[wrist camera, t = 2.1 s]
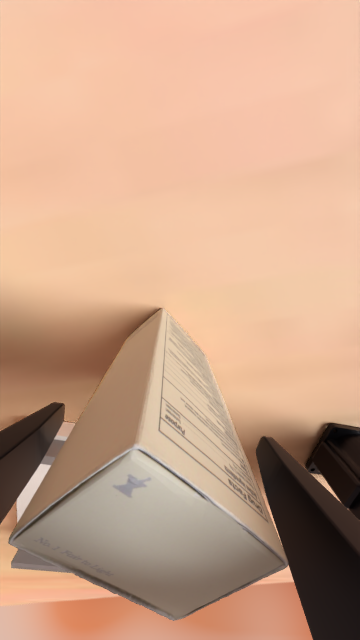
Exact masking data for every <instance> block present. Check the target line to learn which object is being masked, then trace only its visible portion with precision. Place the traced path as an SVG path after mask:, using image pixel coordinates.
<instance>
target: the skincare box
mask: <svg viewBox="0 0 360 640" xmlns="http://www.w3.org/2000/svg"><path fill="white" fill-rule="evenodd" d="M9 544H10V545H12V546H14V547H16V548H18V549H22V550H25V551H26V552H28V553H30V554H32V555H34V556H36V557H38V558H41V559H42V560H44V561H46V562H49V563H51V564H53V565H55V566H57V567H59V568H61V569H63V570H66V571H68V572H71V573H74V574H75V575H77V576H79V577H80V578H83V579H85V580H88V581H89V582H91V583H93V584H95V585H98V586H101V587H103V588H105V589H107V590H109V591H110V592H112V593H114V594H118V595H120V596H122V597H124V598H126V599H128V600H130V601H132V602H134V603H136V604H139V605H142V606H144V607H146V608H148V609H150V610H152V611H154V612H156V613H158V614H160V615H162V616H165V617H167V618H168V619H170V620H173V621H174V620H178V619H182V618H185V617H187V616H189V615H191V614H193V613H194V612H196V611H198V610H200V609H202V608H204V607H206V606H207V605H209V604H212V603H214V602H216V601H219V600H220V599H222V598H224V597H227V596H229V595H231V594H232V593H234V592H237V591H239V590H241V589H243V588H245V587H248V586H249V585H251V584H253V583H255V582H257V581H259V580H261V579H263V578H265V577H268V576H270V575H272V574H274V573H276V572H278V571H281V570H283V569H285V568H286V567H287V566H288V560H287V557H286V555H285V552H284V549H283V547H282V545H281V542H280V540H279V537H278V535H277V532H276V529H275V527H274V524H273V522H272V519H271V517H270V514H269V512H268V510H267V507H266V505H265V502H264V499H263V497H262V494H261V492H260V489H259V487H258V484H257V482H256V479H255V477H254V474H253V472H252V469H251V467H250V465H249V462H248V460H247V457H246V455H245V452H244V450H243V447H242V445H241V442H240V439H239V437H238V435H237V432H236V430H235V427H234V424H233V422H232V419H231V417H230V414H229V412H228V409H227V407H226V404H225V402H224V399H223V397H222V394H221V392H220V389H219V387H218V384H217V382H216V379H215V377H214V374H213V372H212V369H211V367H210V364H209V362H208V359H207V357H206V355H205V354H204V352H203V351H202V350H201V349H200V348H199V347H198V345H197V344H196V343H195V342H194V341H193V340H192V339H191V337H190V336H189V335H188V334H187V333H186V332H185V331H184V330H183V328H182V327H181V326H180V325H179V324H178V323H177V322H176V321H175V320H174V319H173V317H172V316H171V315H170V314H169V313H168V312H167V311H166V310H165V309H164V308H161V309H160V310H159V311H158V312H156V313H155V314H154V315H153V316H151V317H150V318H149V319H148V320H147V321H145V322H144V323H143V324H142V325H141V326H140V327H138V328H137V329H136V330H135V331H134V332H133V333H132V334H131V335H130V336H128V337H127V339H126V340H125V342H124V344H123V346H122V347H121V349H120V350H119V352H118V354H117V356H116V357H115V359H114V360H113V362H112V364H111V365H110V367H109V369H108V370H107V372H106V374H105V375H104V377H103V379H102V380H101V382H100V384H99V385H98V387H97V389H96V390H95V392H94V394H93V396H92V397H91V399H90V400H89V402H88V404H87V406H86V407H85V409H84V411H83V412H82V414H81V416H80V417H79V419H78V421H77V422H76V424H75V426H74V427H73V429H72V431H71V433H70V434H69V436H68V438H67V439H66V441H65V443H64V445H63V446H62V448H61V450H60V451H59V453H58V455H57V456H56V458H55V460H54V461H53V463H52V465H51V467H50V468H49V470H48V472H47V474H46V475H45V477H44V479H43V480H42V482H41V484H40V486H39V487H38V489H37V491H36V492H35V494H34V496H33V497H32V499H31V501H30V503H29V504H28V506H27V508H26V509H25V511H24V513H23V515H22V516H21V518H20V520H19V521H18V523H17V525H16V527H15V528H14V530H13V532H12V534H11V536H10V538H9Z"/></svg>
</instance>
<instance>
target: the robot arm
mask: <svg viewBox="0 0 360 640" xmlns="http://www.w3.org/2000/svg"><path fill="white" fill-rule="evenodd" d="M64 410H65V405H64V404H63V403H57V402H54V403H51V404H50V405H48V406H46V407H44V408H42V409H40V410H39V411H37V412H35V413H33V414H31V415H29V416H28V417H26V418H24V419H22V420H20V421H18V422H17V423H15V424H13V425H11V426H9V427H7V428H6V429H4V430H2V431H0V524H1V522H2V521H3V519H4V518H5V516H6V515H7V513H8V512H9V510H10V509H11V507H12V506H13V504H14V503H15V501H16V500H17V498H18V497H19V495H20V494H21V492H22V491H23V489H24V488H25V486H26V485H27V483H28V482H29V480H30V479H31V477H32V476H33V474H34V473H35V471H36V470H37V468H38V467H39V465H40V463H41V462H42V460H43V458H44V456H45V455H46V453H47V451H48V449H49V447H50V446H51V444H52V442H53V440H54V438H55V436H56V435H57V433H58V431H59V429H60V427H61V426H62V423H63V421H64ZM256 456H257V460H258V464H259V468H260V472H261V477H262V481H263V485H264V489H265V493H266V496H267V499H268V503H269V506H270V509H271V512H272V515H273V518H274V521H275V524H276V527H277V530H278V533H279V537H280V540H281V543H282V546H283V549H284V552H285V555H286V557H287V560H288V564H289V567H290V570H291V573H292V576H293V580H294V583H295V586H296V589H297V592H298V595H299V598H300V601H301V604H302V607H303V610H304V613H305V616H306V619H307V622H308V625H309V628H310V632H311V635H312V638H313V640H360V428H355V427H350V426H344V425H338V424H330V425H329V426H328V427H327V429H326V431H325V432H324V434H323V436H322V438H321V440H320V441H319V443H318V445H317V447H316V448H315V450H314V452H313V454H312V455H311V457H310V459H309V461H308V463H307V464H306V469H307V470H308V471H307V470H306V469H305V468H304V467H303V466H301V465H300V464H299V463H298V462H297V461H296V460H295V459H294V458H293V457H292V456H291V455H290V454H289V453H288V452H287V451H286V450H285V449H283V448H282V447H281V446H280V445H279V444H278V443H277V442H276V441H275V440H274V439H273V438H271V437H267V436H262V437H261V439H260V441H259V443H258V446H257V448H256ZM310 473H314V474H321V475H322V476H323V477H324V479H325V480H326V481H327V483H328V484H329V486H330V487H331V489H332V490H333V491H334V493H335V494H336V496H337V497H338V499H339V500H340V501H341V502H340V501H338V500H337V499H336V498H335V497H334V496H333V495H332V494H331V493H330V492H329V491H328V490H327V489H326V488H325V487H324V486H323V485H322V484H321V483H319V482H318V481H317V480H316V479H315V478H314V477H313V476H312V475H311V474H310ZM347 508H348V509H349V510H348V509H347Z"/></svg>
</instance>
